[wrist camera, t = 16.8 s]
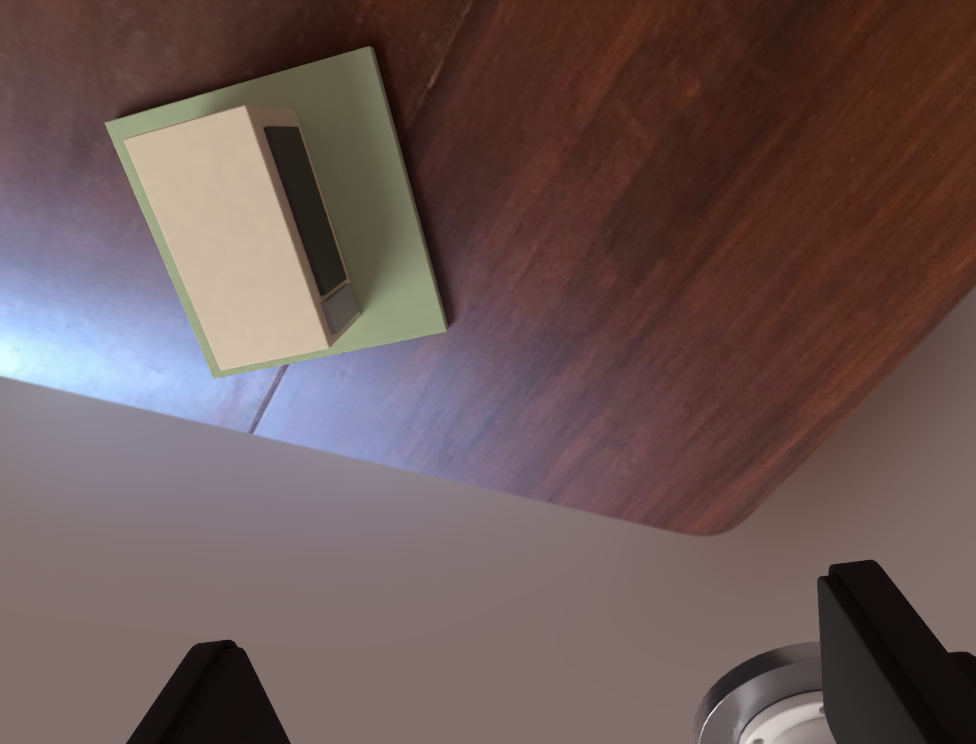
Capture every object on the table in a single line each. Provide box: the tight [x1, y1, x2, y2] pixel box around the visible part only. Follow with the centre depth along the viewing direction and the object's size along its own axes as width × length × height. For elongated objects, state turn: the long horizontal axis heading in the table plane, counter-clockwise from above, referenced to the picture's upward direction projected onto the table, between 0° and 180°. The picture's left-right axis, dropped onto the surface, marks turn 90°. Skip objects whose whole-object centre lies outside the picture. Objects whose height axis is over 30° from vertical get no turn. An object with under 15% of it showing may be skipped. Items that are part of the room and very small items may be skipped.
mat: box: [105, 46, 449, 378], centre depth 36 cm, size 16×16×1 cm
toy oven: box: [124, 105, 361, 370], centre depth 32 cm, size 7×12×6 cm, turn 13°
